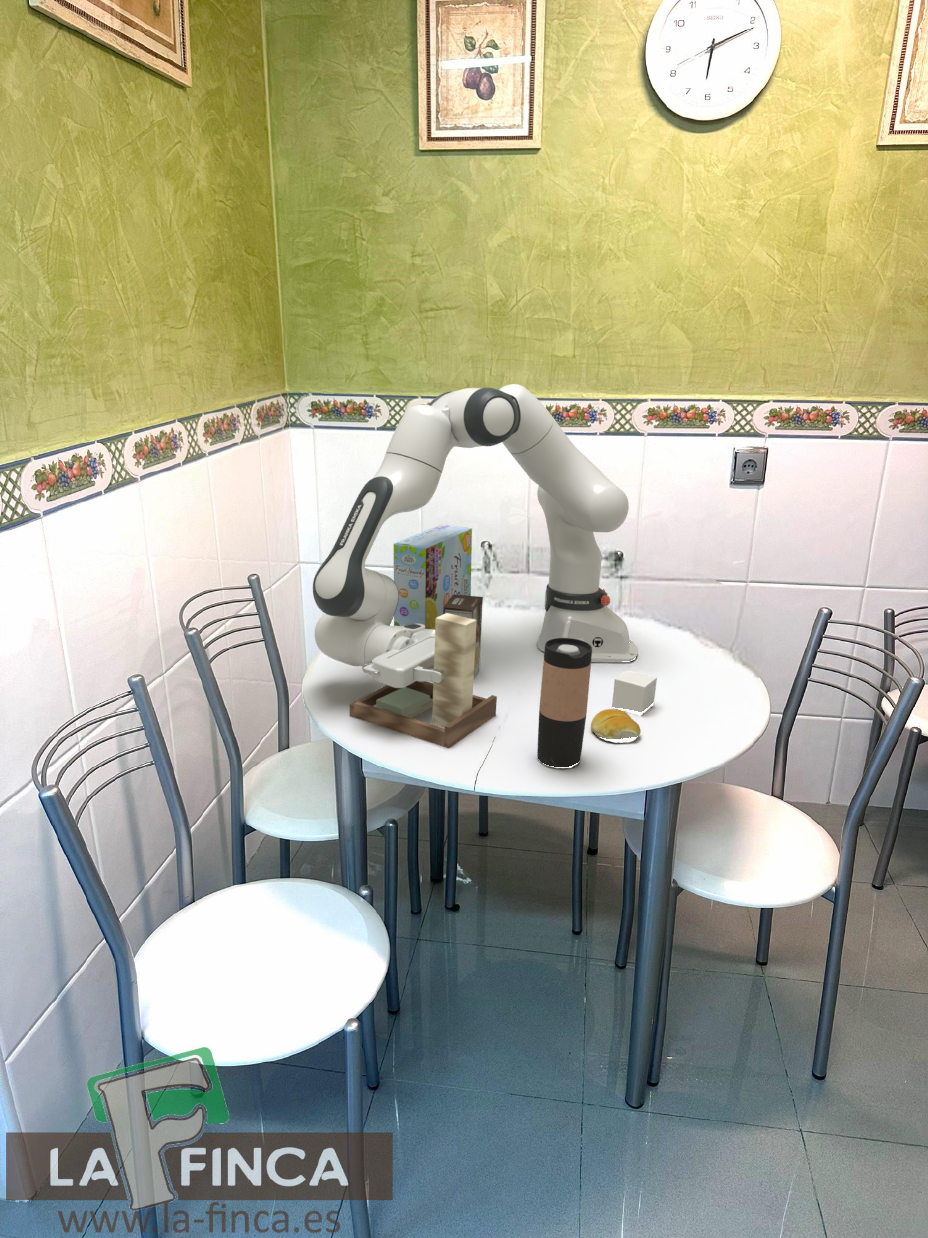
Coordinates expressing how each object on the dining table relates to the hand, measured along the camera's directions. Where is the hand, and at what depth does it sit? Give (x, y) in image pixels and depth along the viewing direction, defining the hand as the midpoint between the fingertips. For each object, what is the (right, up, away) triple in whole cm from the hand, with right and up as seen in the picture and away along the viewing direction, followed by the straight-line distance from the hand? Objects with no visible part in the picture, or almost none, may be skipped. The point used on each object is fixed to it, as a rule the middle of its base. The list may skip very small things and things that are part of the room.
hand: (457, 668), depth 146 cm
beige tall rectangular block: (-1, -10, +4) cm, 11 cm away
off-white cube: (+33, -8, +15) cm, 38 cm away
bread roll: (+28, -12, +4) cm, 31 cm away
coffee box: (0, -3, +26) cm, 26 cm away
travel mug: (+17, -15, -6) cm, 23 cm away
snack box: (-6, +2, +41) cm, 41 cm away
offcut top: (-10, -7, +8) cm, 15 cm away
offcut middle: (-10, -8, +9) cm, 16 cm away
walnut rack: (-6, -9, +7) cm, 13 cm away
